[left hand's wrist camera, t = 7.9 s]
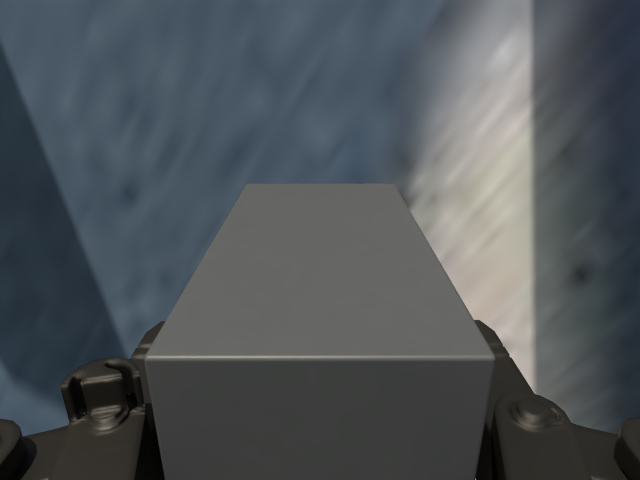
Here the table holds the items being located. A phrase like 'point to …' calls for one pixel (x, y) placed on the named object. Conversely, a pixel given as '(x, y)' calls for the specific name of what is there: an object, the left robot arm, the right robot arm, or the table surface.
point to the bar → (319, 347)
